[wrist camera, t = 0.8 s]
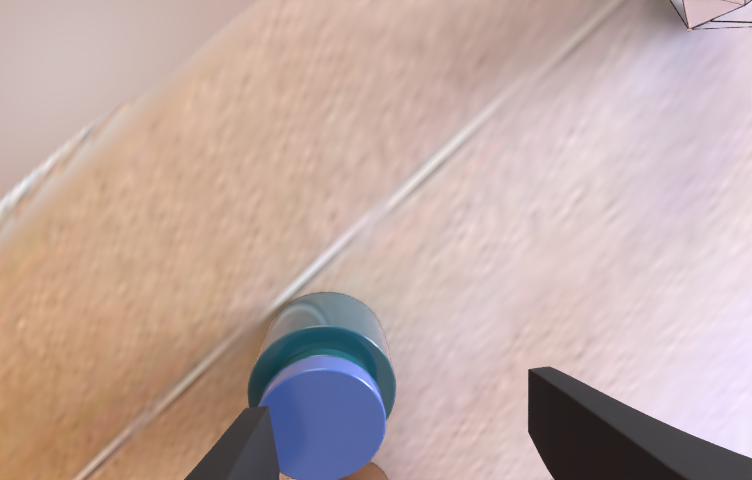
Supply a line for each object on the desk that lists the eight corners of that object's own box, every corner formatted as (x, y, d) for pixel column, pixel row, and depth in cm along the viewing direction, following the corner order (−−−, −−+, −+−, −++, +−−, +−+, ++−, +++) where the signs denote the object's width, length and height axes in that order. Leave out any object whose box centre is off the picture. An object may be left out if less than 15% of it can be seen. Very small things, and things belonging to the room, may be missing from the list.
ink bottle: (404, 368, 21) (430, 453, 15) (301, 419, 21) (286, 523, 15) (353, 270, 19) (359, 322, 13) (241, 325, 19) (199, 401, 14)
